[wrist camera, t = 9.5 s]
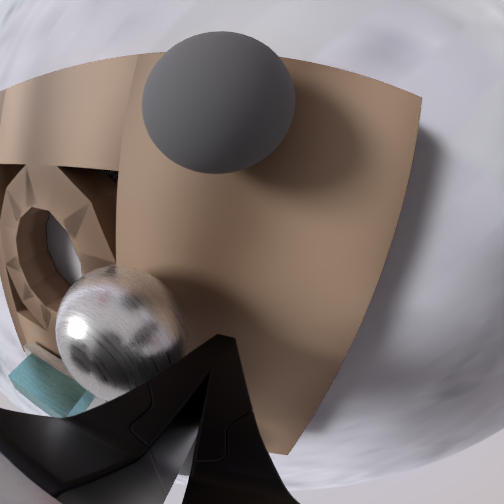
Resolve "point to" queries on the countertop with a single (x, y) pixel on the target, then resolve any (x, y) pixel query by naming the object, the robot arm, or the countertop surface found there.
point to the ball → (119, 330)
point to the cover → (51, 384)
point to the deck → (213, 219)
